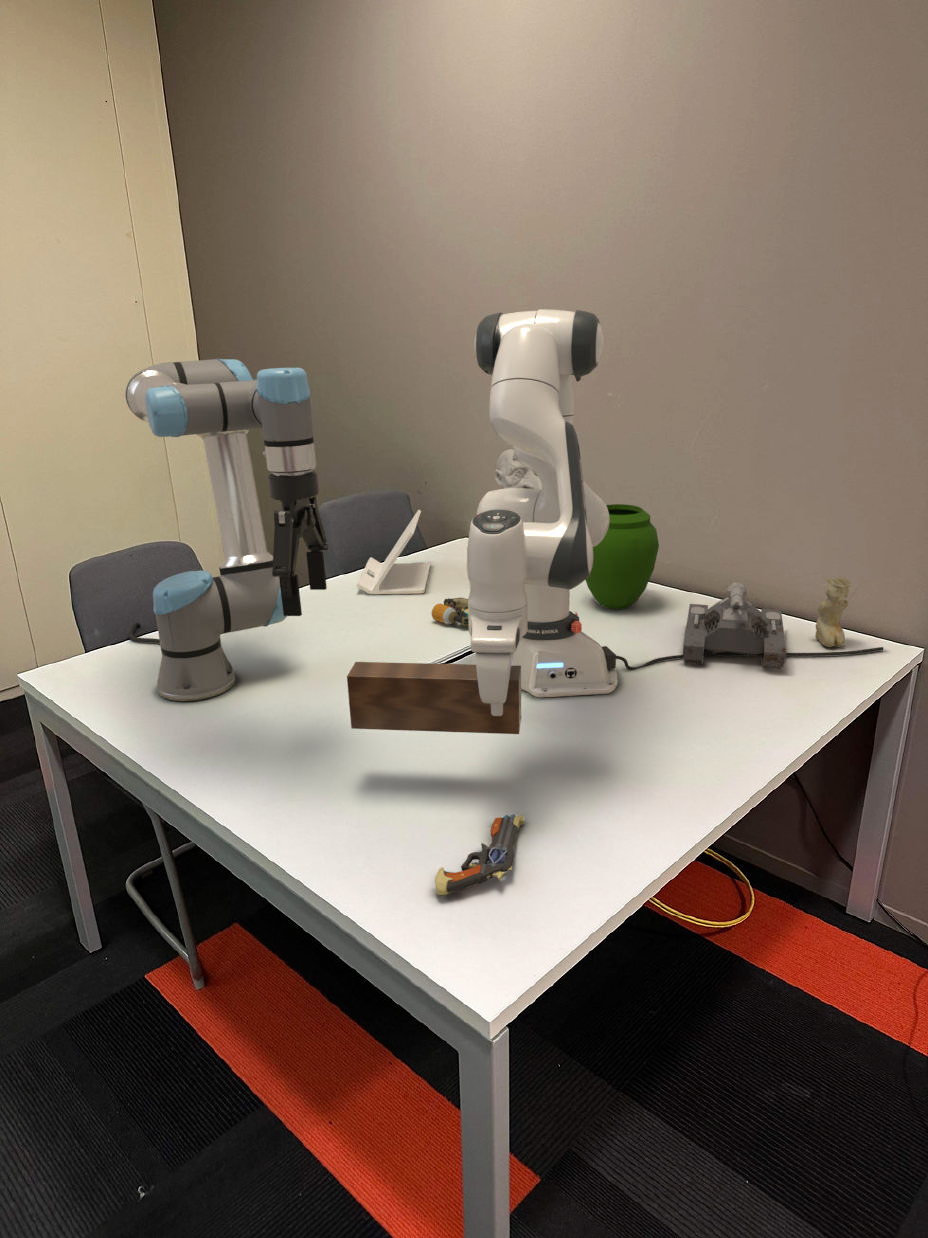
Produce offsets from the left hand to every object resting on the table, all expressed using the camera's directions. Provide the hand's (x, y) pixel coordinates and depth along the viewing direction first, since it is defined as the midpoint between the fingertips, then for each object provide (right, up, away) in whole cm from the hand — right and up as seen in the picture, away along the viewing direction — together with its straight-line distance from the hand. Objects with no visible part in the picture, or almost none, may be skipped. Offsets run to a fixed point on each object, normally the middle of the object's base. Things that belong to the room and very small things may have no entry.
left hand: (306, 601), depth 139 cm
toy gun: (+28, -36, -20) cm, 50 cm away
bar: (+21, -19, -4) cm, 29 cm away
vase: (+64, +1, +75) cm, 99 cm away
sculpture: (+106, -8, +48) cm, 116 cm away
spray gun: (+26, -2, +70) cm, 74 cm away
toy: (+84, -9, +47) cm, 97 cm away
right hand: (+31, -16, -7) cm, 36 cm away
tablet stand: (+7, +8, +99) cm, 100 cm away
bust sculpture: (+43, +9, +100) cm, 109 cm away
